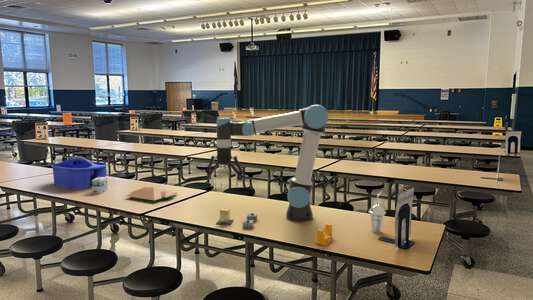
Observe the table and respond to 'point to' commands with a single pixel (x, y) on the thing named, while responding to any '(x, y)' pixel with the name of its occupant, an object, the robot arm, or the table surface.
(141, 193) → the house
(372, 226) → the cup with straw
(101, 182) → the light bulb box
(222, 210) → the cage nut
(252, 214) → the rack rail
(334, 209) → the table surface
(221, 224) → the rubber mat
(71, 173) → the caddy
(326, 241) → the pipe clamp
